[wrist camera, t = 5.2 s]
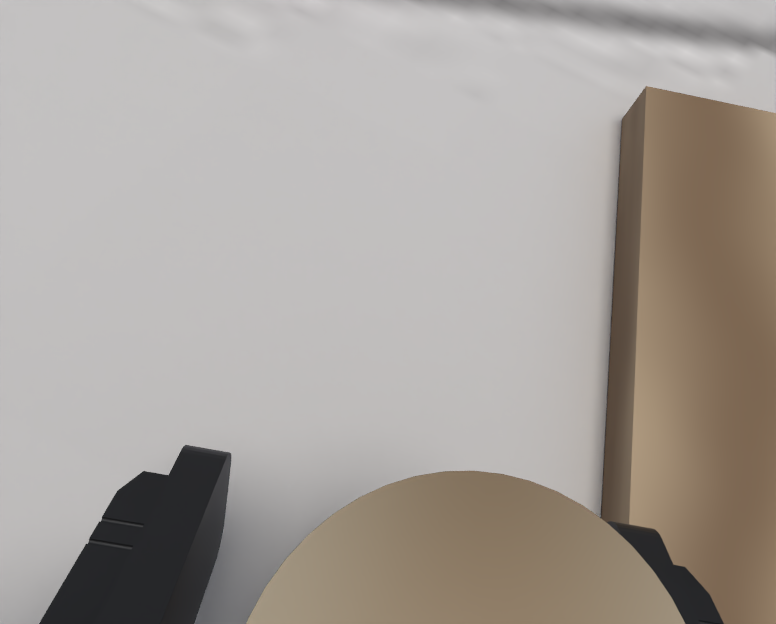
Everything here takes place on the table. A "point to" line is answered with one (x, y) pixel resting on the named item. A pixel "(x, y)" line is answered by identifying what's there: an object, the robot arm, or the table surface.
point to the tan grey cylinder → (464, 561)
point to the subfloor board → (697, 344)
